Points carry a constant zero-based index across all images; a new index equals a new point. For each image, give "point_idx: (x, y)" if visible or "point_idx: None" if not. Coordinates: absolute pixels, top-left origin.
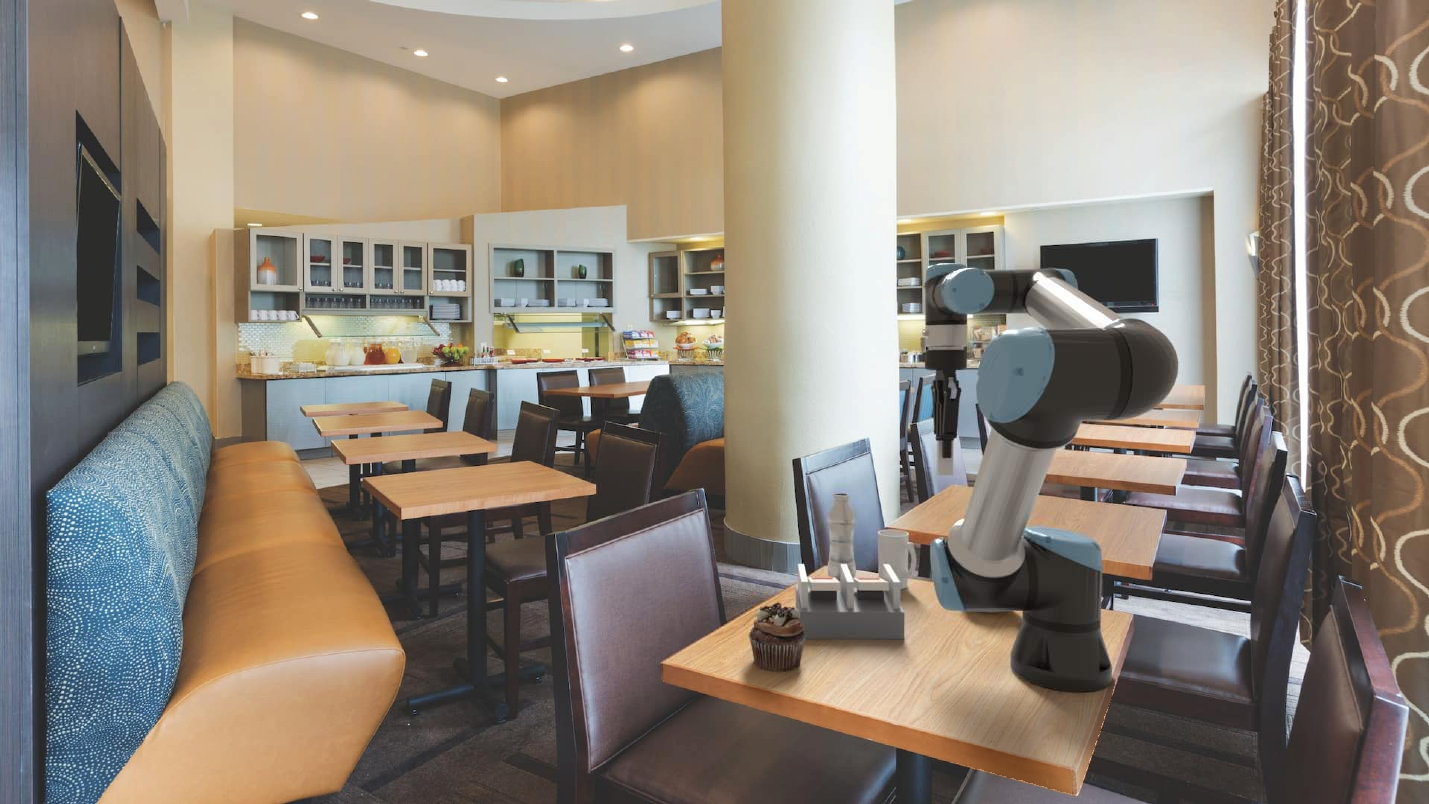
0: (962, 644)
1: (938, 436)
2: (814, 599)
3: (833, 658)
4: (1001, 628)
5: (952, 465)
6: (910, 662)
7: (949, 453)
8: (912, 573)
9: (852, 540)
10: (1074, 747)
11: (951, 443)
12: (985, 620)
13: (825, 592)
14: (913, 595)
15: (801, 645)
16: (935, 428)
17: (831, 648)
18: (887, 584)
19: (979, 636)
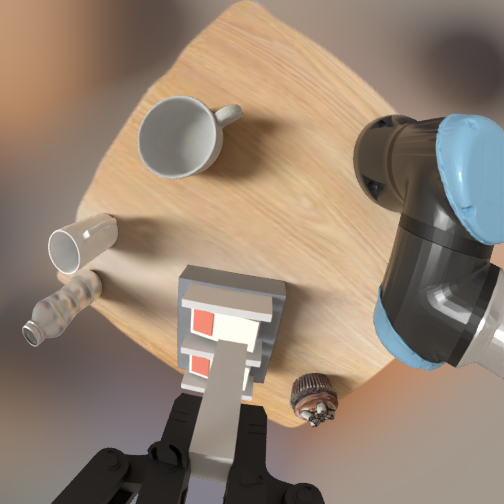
0: (311, 224)
1: (187, 486)
2: None
3: (315, 351)
4: (267, 153)
5: (243, 370)
6: (343, 295)
7: (265, 427)
8: (114, 220)
9: (68, 294)
10: None
11: (264, 460)
12: (236, 160)
13: None
14: (137, 217)
15: (329, 386)
16: (133, 498)
17: (293, 348)
18: (259, 322)
19: (290, 193)
